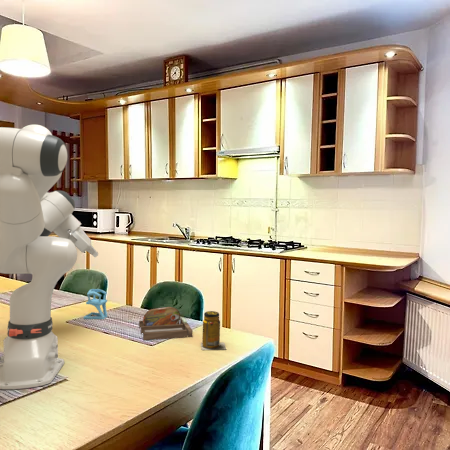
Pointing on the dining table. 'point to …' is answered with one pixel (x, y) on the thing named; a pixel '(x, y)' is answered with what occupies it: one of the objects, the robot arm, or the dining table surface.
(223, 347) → the condiment
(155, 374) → the dining table surface
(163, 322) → the tin
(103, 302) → the chair
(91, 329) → the dining table surface
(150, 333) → the wooden slotted tray
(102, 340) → the dining table surface
